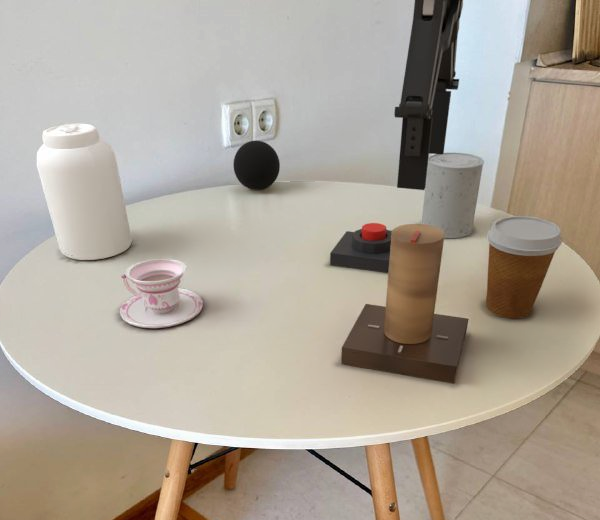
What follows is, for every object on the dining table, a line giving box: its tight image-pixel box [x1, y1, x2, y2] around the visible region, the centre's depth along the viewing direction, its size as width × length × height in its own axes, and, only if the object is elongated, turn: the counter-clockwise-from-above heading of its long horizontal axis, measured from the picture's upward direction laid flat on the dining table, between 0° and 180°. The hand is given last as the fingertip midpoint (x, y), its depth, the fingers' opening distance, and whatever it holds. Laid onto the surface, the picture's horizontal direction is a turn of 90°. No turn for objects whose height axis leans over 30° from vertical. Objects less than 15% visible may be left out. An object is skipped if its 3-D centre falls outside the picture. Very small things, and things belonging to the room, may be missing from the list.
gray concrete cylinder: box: [420, 152, 485, 239], centre depth 106 cm, size 10×10×12 cm
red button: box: [361, 222, 387, 241], centre depth 97 cm, size 4×4×2 cm
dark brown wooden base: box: [340, 303, 470, 384], centre depth 76 cm, size 14×12×3 cm
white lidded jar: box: [36, 123, 133, 261], centre depth 100 cm, size 12×12×20 cm
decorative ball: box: [232, 140, 281, 191], centre depth 128 cm, size 10×10×10 cm
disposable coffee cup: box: [485, 215, 563, 320], centre depth 81 cm, size 10×10×12 cm
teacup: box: [119, 258, 204, 329], centre depth 85 cm, size 12×12×6 cm
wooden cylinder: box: [384, 223, 445, 344], centre depth 71 cm, size 6×6×13 cm
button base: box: [329, 228, 392, 274], centre depth 99 cm, size 12×10×4 cm
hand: (422, 169), depth 64 cm, fingers open, 13 cm apart
